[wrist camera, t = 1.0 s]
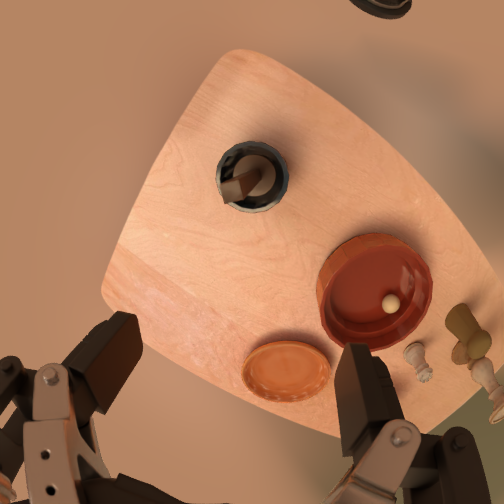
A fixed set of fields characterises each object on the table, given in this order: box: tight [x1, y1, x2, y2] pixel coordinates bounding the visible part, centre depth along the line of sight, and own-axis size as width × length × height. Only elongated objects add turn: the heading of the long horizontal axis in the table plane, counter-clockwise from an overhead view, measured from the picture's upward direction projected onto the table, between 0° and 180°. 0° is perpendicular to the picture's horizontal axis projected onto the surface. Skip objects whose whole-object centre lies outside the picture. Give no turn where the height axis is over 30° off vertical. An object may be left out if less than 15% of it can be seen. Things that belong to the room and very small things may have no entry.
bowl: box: [316, 233, 433, 352], centre depth 37 cm, size 17×17×6 cm
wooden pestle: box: [219, 154, 277, 204], centre depth 26 cm, size 5×5×19 cm
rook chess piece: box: [404, 343, 433, 383], centre depth 39 cm, size 4×4×8 cm
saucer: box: [241, 341, 331, 403], centre depth 45 cm, size 16×16×3 cm
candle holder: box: [452, 341, 504, 424], centre depth 32 cm, size 9×9×20 cm
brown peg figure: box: [445, 304, 492, 359], centre depth 34 cm, size 6×6×11 cm
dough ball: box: [382, 294, 400, 313], centre depth 38 cm, size 3×3×3 cm
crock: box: [216, 141, 289, 213], centre depth 32 cm, size 8×8×8 cm
